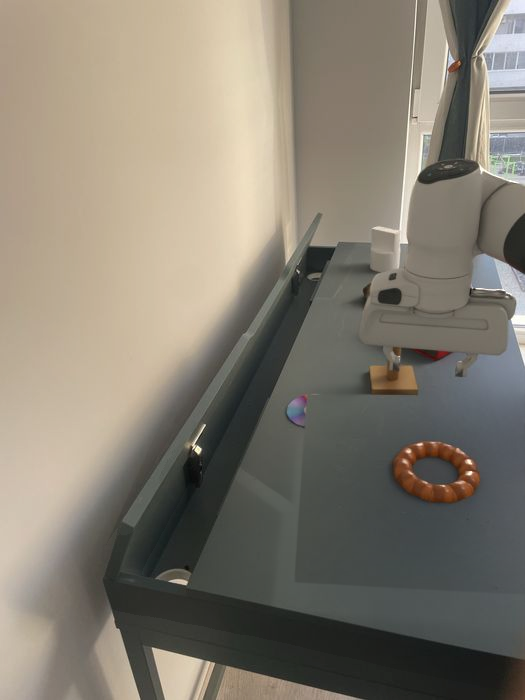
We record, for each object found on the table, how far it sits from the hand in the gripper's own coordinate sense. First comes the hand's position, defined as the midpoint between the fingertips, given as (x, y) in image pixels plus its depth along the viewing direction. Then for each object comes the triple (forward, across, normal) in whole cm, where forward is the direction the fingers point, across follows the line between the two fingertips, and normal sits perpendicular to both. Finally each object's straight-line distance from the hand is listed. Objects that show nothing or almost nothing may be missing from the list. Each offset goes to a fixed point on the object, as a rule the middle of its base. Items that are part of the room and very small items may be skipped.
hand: (426, 371), depth 79 cm
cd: (+19, +20, -12) cm, 30 cm away
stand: (+19, +6, -25) cm, 32 cm away
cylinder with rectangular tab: (+19, +14, -91) cm, 94 cm away
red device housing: (+19, 0, -46) cm, 50 cm away
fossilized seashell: (+19, +13, -65) cm, 70 cm away
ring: (+18, -3, +2) cm, 18 cm away
